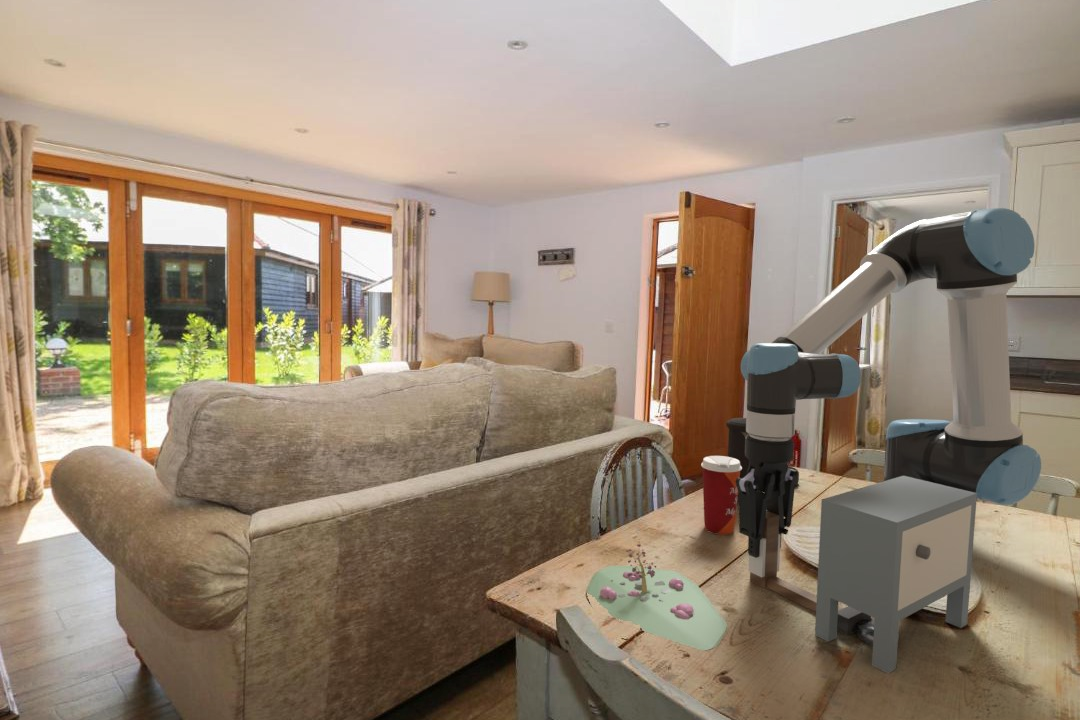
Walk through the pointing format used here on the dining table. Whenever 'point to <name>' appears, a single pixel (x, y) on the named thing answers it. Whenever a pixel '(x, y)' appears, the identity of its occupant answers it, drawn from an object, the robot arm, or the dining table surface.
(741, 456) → the container
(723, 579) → the dining table surface
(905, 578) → the cabinet
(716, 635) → the miniature garden model
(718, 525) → the coffee cup
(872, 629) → the silver flat dome
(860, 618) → the pusher tool
